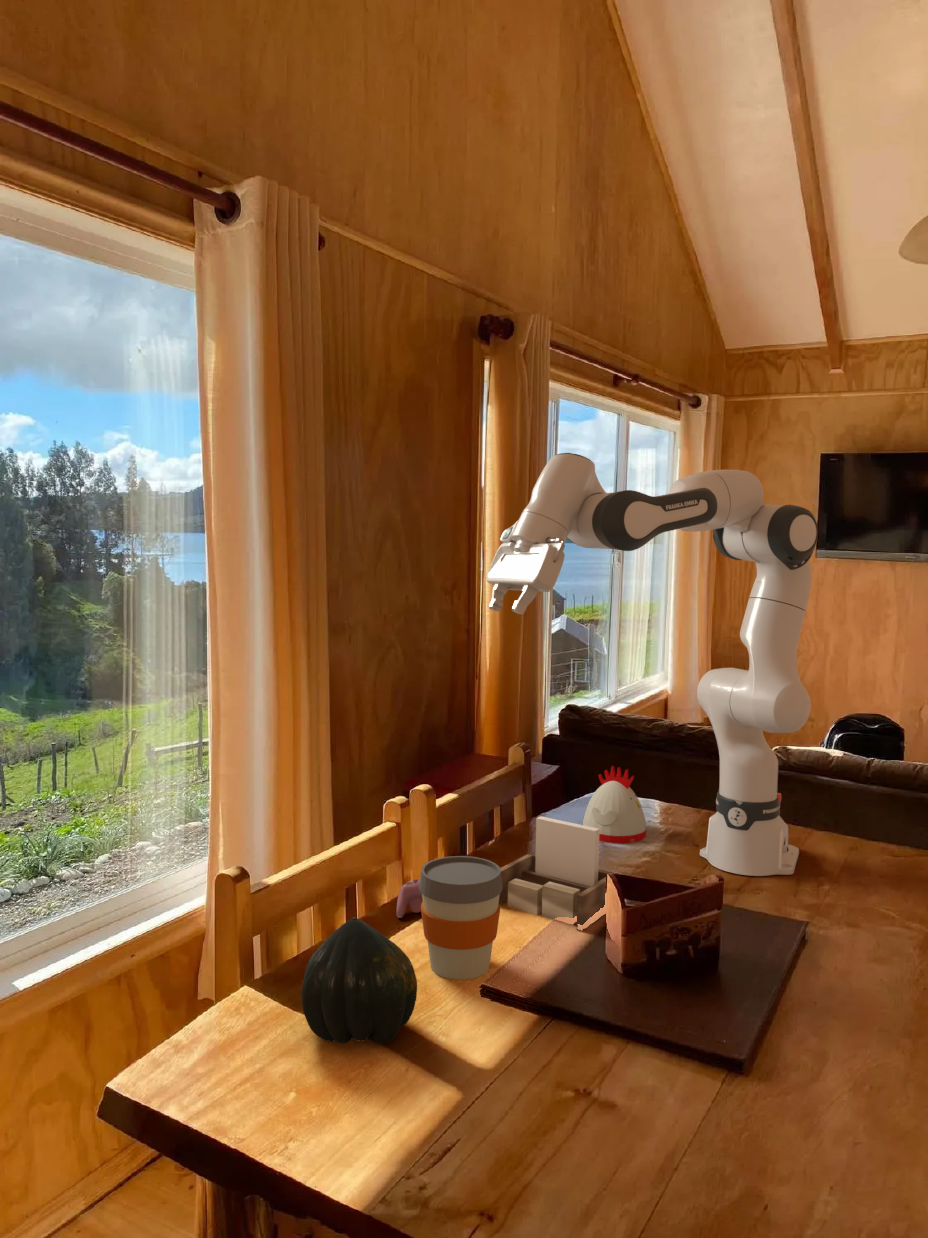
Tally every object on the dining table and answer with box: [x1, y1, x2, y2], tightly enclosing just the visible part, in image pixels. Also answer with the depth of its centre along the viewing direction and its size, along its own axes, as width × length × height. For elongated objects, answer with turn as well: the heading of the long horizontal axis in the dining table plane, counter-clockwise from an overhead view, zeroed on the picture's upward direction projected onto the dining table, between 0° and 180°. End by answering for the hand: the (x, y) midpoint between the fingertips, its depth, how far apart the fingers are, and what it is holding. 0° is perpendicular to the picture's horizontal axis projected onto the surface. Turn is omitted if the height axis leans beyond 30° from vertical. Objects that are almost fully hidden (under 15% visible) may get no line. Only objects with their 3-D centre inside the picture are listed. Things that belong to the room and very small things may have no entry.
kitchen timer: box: [582, 765, 647, 844], centre depth 203 cm, size 14×14×15 cm
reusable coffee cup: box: [419, 855, 503, 981], centre depth 139 cm, size 13×13×15 cm
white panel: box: [535, 816, 600, 886], centre depth 165 cm, size 2×12×14 cm, turn 54°
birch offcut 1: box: [507, 878, 542, 916], centre depth 161 cm, size 2×6×4 cm, turn 54°
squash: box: [300, 916, 418, 1045], centre depth 121 cm, size 14×15×15 cm
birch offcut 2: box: [541, 882, 580, 921], centre depth 157 cm, size 2×6×6 cm, turn 54°
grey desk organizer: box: [498, 852, 619, 925], centre depth 162 cm, size 13×18×6 cm
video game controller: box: [395, 878, 423, 919], centre depth 158 cm, size 10×5×7 cm, turn 84°
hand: (504, 611), depth 156 cm, fingers open, 8 cm apart
